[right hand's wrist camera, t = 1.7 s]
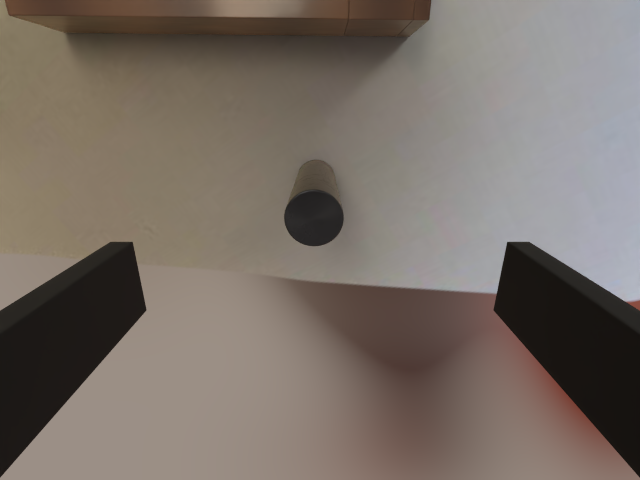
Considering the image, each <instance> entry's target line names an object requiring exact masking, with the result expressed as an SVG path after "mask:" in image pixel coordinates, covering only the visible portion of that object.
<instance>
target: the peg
mask: <svg viewBox="0 0 640 480" xmlns="http://www.w3.org/2000/svg"><path fill="white" fill-rule="evenodd" d="M284 220H285V226H286V228H287V230H288V232H289V234H290V235H291V236H292V237H293V238H294V239H295V240H296V241H298V242H300V243H302V244H304V245H308V246H320V245H324V244H326V243H329V242H330V241H332V240H333V239H334V238H335V237H336V236H337V235H338V234H339V232H340V230H341V228H342V225H343V220H344V216H343V210H342V206H341V201H340V197H339V193H338V189H337V184H336V180H335V176H334V172H333V170H332V168H331V167H330V166H329V165H328V164H327V163H325V162H323V161H320V160H312V161H309V162H307V163H305V164H304V165H303V166H302V167H301V168H300V170H299V172H298V175H297V178H296V181H295V184H294V187H293V190H292V192H291V195H290V198H289V201H288V204H287V207H286V210H285V214H284Z"/></svg>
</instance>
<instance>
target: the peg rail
mask: <svg viewBox="0 0 640 480" xmlns="http://www.w3.org/2000/svg"><path fill="white" fill-rule="evenodd" d="M5 3H6V7H7V11H8V14H9V15H10V16H13V17H16V18H20V19H23V20H26V21H29V22H32V23H36V24H39V25H42V26H45V27H48V28H52V29H55V30H58V31H61V32H64V33H145V34H231V35H318V36H343V35H344V36H402V37H409V36H411V35H412V34H413V33H414V32H415V31H417V30H418V29H419V28H420V27H421V26H422V25H424V24H425V23H426V22H427V21H428V20H429V16H430V6H431V0H5Z"/></svg>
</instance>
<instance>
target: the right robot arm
mask: <svg viewBox="0 0 640 480" xmlns="http://www.w3.org/2000/svg"><path fill="white" fill-rule="evenodd" d="M145 311H146V306H145V301H144V296H143V291H142V286H141V281H140V276H139V271H138V266H137V261H136V256H135V251H134V246H133V242H110V243H108V244H107V245H105V246H103V247H102V248H100V249H99V250H97V251H95V252H94V253H92V254H91V255H89V256H87V257H86V258H84V259H83V260H81V261H79V262H78V263H76V264H75V265H73V266H71V267H70V268H68V269H67V270H65V271H63V272H62V273H60V274H59V275H57V276H55V277H54V278H52V279H51V280H49V281H47V282H46V283H44V284H43V285H41V286H39V287H38V288H36V289H35V290H33V291H31V292H30V293H28V294H26V295H25V296H23V297H22V298H20V299H18V300H17V301H15V302H14V303H12V304H10V305H9V306H7V307H6V308H4V309H2V310H1V311H0V477H1V476H2V475H3V474H4V472H5V471H6V470H7V469H8V468H9V467H10V466H11V465H12V463H13V462H14V461H15V460H16V459H17V458H18V457H19V455H20V454H21V453H22V452H23V451H24V450H25V449H26V447H27V446H28V445H29V444H30V443H31V442H32V440H33V439H34V438H35V437H36V436H37V435H38V434H39V432H40V431H41V430H42V429H43V428H44V427H45V426H46V424H47V423H48V422H49V421H50V420H51V419H52V418H53V416H54V415H55V414H56V413H57V412H58V411H59V410H60V408H61V407H62V406H63V405H64V404H65V403H66V402H67V400H68V399H69V398H70V397H71V396H72V395H73V394H74V392H75V391H76V390H77V389H78V388H79V387H80V386H81V384H82V383H83V382H84V381H85V380H86V379H87V378H88V376H89V375H90V374H91V373H92V372H93V371H94V370H95V368H96V367H97V366H98V365H99V364H100V363H101V361H102V360H103V359H104V358H105V357H106V356H107V355H108V354H109V352H110V351H111V350H112V349H113V348H114V347H115V346H116V344H117V343H118V342H119V341H120V340H121V339H122V338H123V336H124V335H125V334H126V333H127V332H128V331H129V330H130V328H131V327H132V326H133V325H134V324H135V323H136V322H137V320H138V319H139V318H140V317H141V316H142V315H143V313H144V312H145ZM494 311H495V312H496V314H497V315H498V316H499V317H500V318H501V319H502V320H503V322H504V323H505V324H506V325H507V326H508V327H509V328H510V330H511V331H512V332H513V333H514V334H515V335H516V336H517V338H518V339H519V340H520V341H521V342H522V343H523V344H524V345H525V347H526V348H527V349H528V350H529V351H530V352H531V354H532V355H533V356H534V357H535V358H536V359H537V360H538V362H539V363H540V364H541V365H542V366H543V367H544V368H545V370H546V371H547V372H548V373H549V374H550V375H551V376H552V378H553V379H554V380H555V381H556V382H557V383H558V384H559V386H560V387H561V388H562V389H563V390H564V391H565V392H566V394H567V395H568V396H569V397H570V398H571V399H572V400H573V402H574V403H575V404H576V405H577V406H578V407H579V408H580V410H581V411H582V412H583V413H584V414H585V415H586V416H587V418H588V419H589V420H590V421H591V422H592V423H593V424H594V426H595V427H596V428H597V429H598V430H599V431H600V432H601V434H602V435H603V436H604V437H605V438H606V439H607V441H608V442H609V443H610V444H611V445H612V446H613V447H614V449H615V450H616V451H617V452H618V453H619V454H620V455H621V456H622V458H623V459H624V460H625V461H626V462H627V463H628V465H629V466H630V467H631V468H632V469H633V470H634V471H635V472H636V474H637V475H638V476H639V477H640V311H639V310H638V309H636V308H634V307H633V306H631V305H630V304H628V303H626V302H625V301H623V300H622V299H620V298H618V297H617V296H615V295H614V294H612V293H610V292H609V291H607V290H606V289H604V288H602V287H601V286H599V285H598V284H596V283H594V282H593V281H591V280H589V279H588V278H586V277H585V276H583V275H581V274H580V273H578V272H577V271H575V270H573V269H572V268H570V267H569V266H567V265H565V264H564V263H562V262H561V261H559V260H557V259H556V258H554V257H553V256H551V255H549V254H548V253H546V252H545V251H543V250H541V249H540V248H538V247H537V246H535V245H533V244H532V243H530V242H507V246H506V251H505V256H504V261H503V266H502V271H501V276H500V281H499V286H498V291H497V296H496V301H495V306H494Z"/></svg>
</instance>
